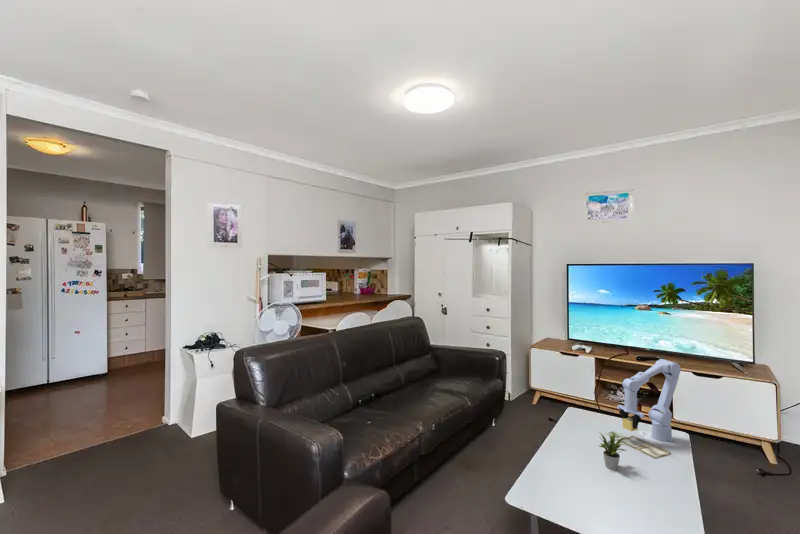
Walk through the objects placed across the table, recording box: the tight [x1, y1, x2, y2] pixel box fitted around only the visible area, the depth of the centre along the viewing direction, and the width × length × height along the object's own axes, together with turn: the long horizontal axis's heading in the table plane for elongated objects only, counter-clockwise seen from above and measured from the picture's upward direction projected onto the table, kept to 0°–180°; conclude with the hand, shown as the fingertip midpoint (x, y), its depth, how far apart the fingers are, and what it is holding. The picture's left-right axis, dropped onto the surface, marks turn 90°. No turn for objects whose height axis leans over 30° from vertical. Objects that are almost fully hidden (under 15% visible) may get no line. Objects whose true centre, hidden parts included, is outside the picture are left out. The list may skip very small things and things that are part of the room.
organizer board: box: [604, 430, 672, 459], centre depth 209 cm, size 13×31×1 cm, turn 22°
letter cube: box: [622, 416, 639, 432], centre depth 211 cm, size 5×5×5 cm
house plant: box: [598, 431, 628, 471], centre depth 185 cm, size 14×14×16 cm
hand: (630, 426), depth 211 cm, fingers closed on letter cube, 5 cm apart
